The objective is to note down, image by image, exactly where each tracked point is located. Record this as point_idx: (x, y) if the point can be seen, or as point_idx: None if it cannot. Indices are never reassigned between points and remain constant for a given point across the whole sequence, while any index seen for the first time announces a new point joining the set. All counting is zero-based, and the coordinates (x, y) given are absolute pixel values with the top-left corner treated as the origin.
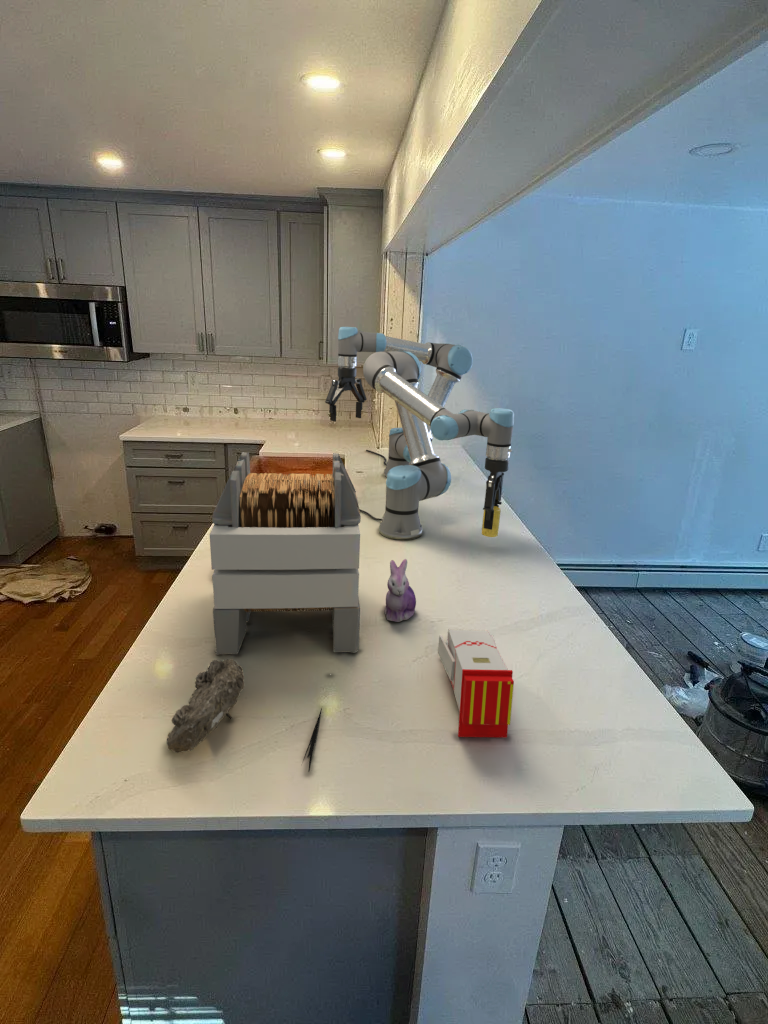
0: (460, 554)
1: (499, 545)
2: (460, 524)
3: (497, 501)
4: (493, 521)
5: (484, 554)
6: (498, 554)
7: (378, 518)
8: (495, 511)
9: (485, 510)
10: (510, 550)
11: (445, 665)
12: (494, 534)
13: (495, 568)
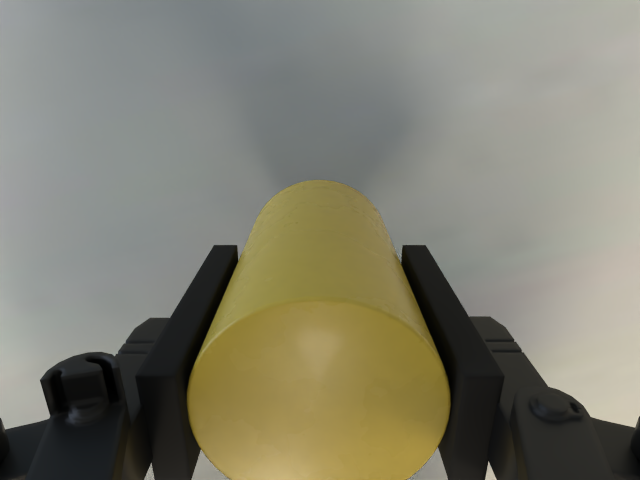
0: (494, 319)
1: (232, 153)
2: None
3: (123, 452)
4: (405, 277)
5: (434, 201)
6: (392, 119)
7: None
8: (429, 344)
9: (477, 466)
10: (277, 56)
11: None
12: (369, 204)
13: (637, 77)
